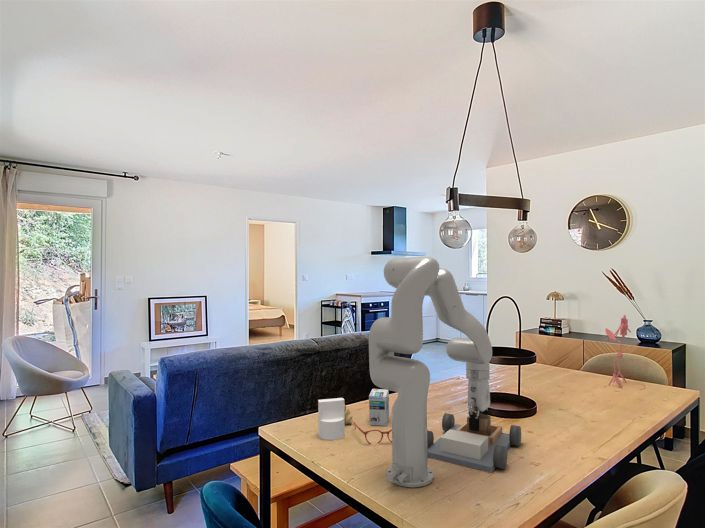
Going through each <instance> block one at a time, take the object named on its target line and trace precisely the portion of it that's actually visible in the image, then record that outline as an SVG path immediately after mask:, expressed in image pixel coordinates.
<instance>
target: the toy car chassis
mask: <svg viewBox="0 0 705 528" xmlns="http://www.w3.org/2000/svg"><path fill="white" fill-rule="evenodd" d="M441 428H442V431H443V432H444V434H442V435H441V436H440V437H439V438H438V439H437V440H436V441H434V440H435V438H434V435H435V434H434V432H433V431H432V430H428V429H427V452H428V458H430V459H434V460H438V461H441V462H447V463H450V464H455V465H459V466H461V467H467V468H470V469H475V470H479V471H483V472H487V473H490V474H493V472H494V471H495V469H496V468H497V469H499V470H500V469H501V470H505V469H506V467H507V463H508V451H509V449H510V447H511V446H516V447H520V446H521V443H522V442H521V441H522V428H521V426H520V425H514V424H511V425H510V428H509V433H506V432H503V426H500V425H495V424H491V434H490V435H489V436H485V435H480V434H475V433H470V432H467V420H465V421H464V422H463V423H462V424H459V423H455V416H454V414H452V413H444V414H443V416H442V419H441Z"/></svg>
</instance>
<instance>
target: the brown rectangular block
mask: <svg viewBox="0 0 705 528" xmlns="http://www.w3.org/2000/svg"><path fill="white" fill-rule="evenodd" d="M475 414H476V412H475ZM478 418H479V431H473V430H470V429H469V415H468V416H467V418H466V421H467V432H470V433H475V434H480V435H485V436H489V435H490V434H491V425H492V424H491V423H492V422H491V419H492V417H491V415H490V414H488V415H484V414H482V413H480V412H479V415H478Z"/></svg>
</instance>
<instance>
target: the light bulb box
mask: <svg viewBox="0 0 705 528" xmlns="http://www.w3.org/2000/svg"><path fill="white" fill-rule="evenodd" d="M389 391H390V390H386V389H383V388H380V389H379V388H372V389H371V391H370V393H369V395H368V404H369V405H368V407H369V408H368V410H369V411H368V413H369V414H368V415H369V426H382V427H383V426H385V427H387V426H388V423H389V419H390V393H389Z"/></svg>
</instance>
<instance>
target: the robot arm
mask: <svg viewBox="0 0 705 528" xmlns="http://www.w3.org/2000/svg"><path fill="white" fill-rule="evenodd" d="M383 277H384V279H385V281H386V283H387V284H388V285H389V286H391V287H393V288H394V289H395V291H394V292H393V296H392V299H391V303H390V304H391V306H390V312H391V316H390V317H387V316H386V317H385V316H383V317H379V318H378V319H376V320H374V322H373V323H372V324H371V327H370V328H369V332H368V357H369V358H368V363H369V375H370V379H371V381H372V383H373V385H375V386H376V387H378V389H379V388H380V389H386V390H389V391H390V392H391V391H392V392H395V393H397V394H398V395H397V397H396V399H395V400H394V402H393V405H392V407H391V429H392V431H391V441H392V442H391V450H392V451H391V459H392V460H391V461H392V462H391V463H392V465H390V466H389V467H388V468H387V469H386V476H385V477H386V481H387V482H389V483H393V484H394V483H395V485H398V486H400V487H406V488H421V487H425V486H427V485H429V484H432V483H433V481H434V479H435V478H434V477H435V476H434V471H433V469H432V468H430V467H429V466H428V465H429V461H428V458H429V457H428V452H427V430H428V415H427V414H428V410H427V409H428V408H427V407H428V406H427V405H428V393H429V387H430V383H431V374H430V373H431V372H430V369H429V367H428V366H427V365H426V364H425V363H424V362H422V361H420V360H418V359H414V358H410V357H409V358H408V357H403V356H396V355H395V353H398V354H404V355H413V354H415V355H416V354H417V353H419V352H420V351H421V350H422V348H423V343H424V326H423V325H424V324H423V323H424V322H423V305H424V299H425V296H428V297H430V300H431V302H432V305H433V307H434V309H435V314H436V315H437V317H438V319H439V320H440V322H441V323H443V324H444V325H447V326H449V327H451V328H452V329H455V330H456V331H458V332H460V333H462V334H464V335H465V336H466V337H454V338H452V339H450V340H449V341H448V343H447V344H446V348H445V351H446V355H447V356H448V358H450V359H451V360H452V361H456V362H461V363H462V362H463V363H465V373H466V374H465V378H466V379H467V380H468V381H467V407H468V408H467V409H468V416H469V429H470V430H473V431H479V418H478V415H479V412H480V413H482V414H484V415H489V413H488V412H489V411H488V409H489V407H490V406H491V391H490V378H491V377H490V376H491V375H490V374H491V373H490V372H491V371H490V361H491V360H492V357H493V346H492V343H491V340H490V337H489V334H488V332H487V330H486V328H485V327H484V325H483V324H482V323H481V322H480V321H479V320H478V319H477V318H476V317H475V316H474V315H473V314H472V313H470V312H469V311H468V310H466V308H465V306H464V303H463V301H462V298H461V295H460V293H459V289H458V286H457V284H456V281H455V278H454V276H453V274H452V272H451V271H450V270H448V269H445V268H441V267H440V264H439V262H438V260H437V259H436V258H433V257H431V256H411V257H410V256H409V257H397V258H392V259H389V260H388V261H387V263H386V264H385V265H384V268H383ZM475 413H476V414H475Z"/></svg>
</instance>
